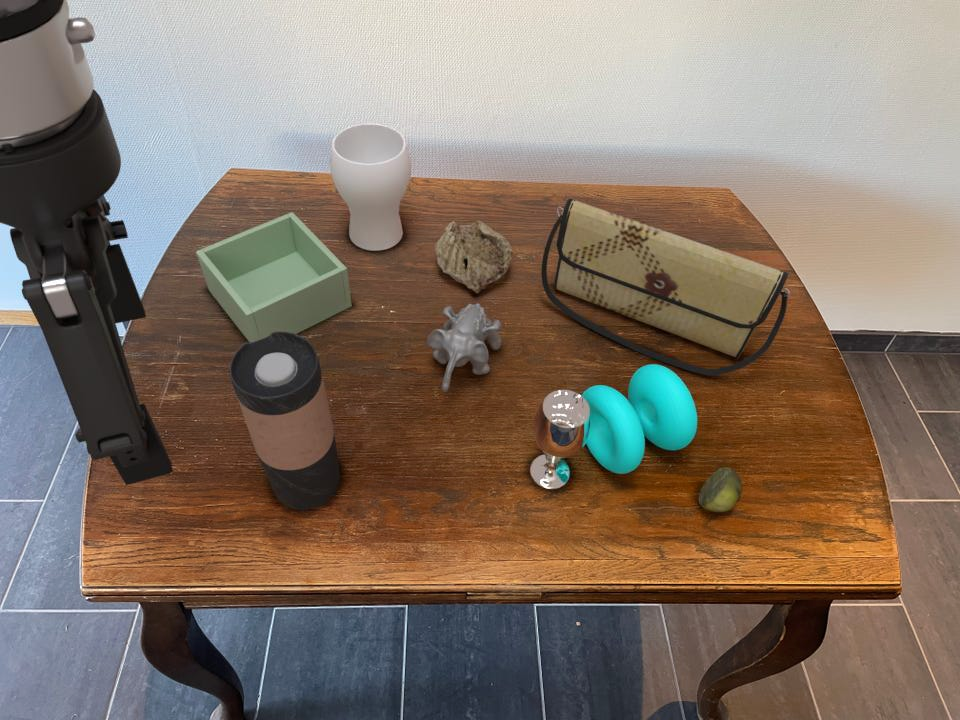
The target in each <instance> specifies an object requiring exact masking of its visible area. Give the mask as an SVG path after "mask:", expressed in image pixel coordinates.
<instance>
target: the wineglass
mask: <svg viewBox="0 0 960 720" xmlns="http://www.w3.org/2000/svg"><path fill="white" fill-rule="evenodd" d="M534 415H535V416H534V418H533V421H532V435H533V439H534V442H535V444H536V446H537V447H538V448H539V449H540V450H541V451H542V452H543V454H541V455H538V456H537V457H536V458H535V459H533V460H532V462H531V464H530V467H529V473H530V477H531V479H532V480H533V482H534V483H535V484H537V485H538V486H539V487H541V488H544V489H547V490H557V489H560V488H562V487H564V486H565V485H566V484H567V483H568V481H569V479H570V476H571V470H570V467H569V464H568V463H567V461H565V459H566V458H570V457H573V456H575V455H577V454H578V453H579V452H580V451H582V450H583V448H584V447H585V445H587V444H586V442H587V440H588V437H589V434H590V426H591V416H590V409H589V405H588V403H587V401H586V400H585V399H584V398H583V397H582V394H580V393H578V392H576V391H573V390H570V389H558V390H554V391H552V392H550V393H549V394H547V395H546V397H545V398H544V399H543V400H542V402H541V404H540V405H539V407H538V409H537V410H536V413H535V414H534Z"/></svg>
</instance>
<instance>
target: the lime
mask: <svg viewBox="0 0 960 720" xmlns="http://www.w3.org/2000/svg"><path fill="white" fill-rule="evenodd" d="M742 493H743V482H742V479H741V478H740V476H739V474H738V473H737V472H736V471H735V470H734V469H733V468H731V467H728V466H727V467H726V466H723V467H720V468H718V469H717V470H716V471H714V472H713V473H712V474H710V475H709V477H708V478H707V479H706V481H705V482H704V484H703V485H702V487H701V488H700V492H699V496H698V503H699V506H700V507H701V508H703V509H704V510H707V511H710V512H714V513H725V512H728V511H730V510H732V509H733V508H734V507H735V506H736V504H737V503H738V502H739V501H740V500H741V497H742V496H741V495H742Z"/></svg>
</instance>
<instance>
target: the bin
mask: <svg viewBox="0 0 960 720" xmlns="http://www.w3.org/2000/svg"><path fill="white" fill-rule="evenodd" d="M195 254H196V257H197V260H198V263H199V266H200V268H201V269H200V270H201V272H202V274H203V277H204V280H205V284H206V286H207V289H208V291H209V292H210V294H211V295H212V296H213V298H214V299H215V300H216V302H217V303H218V305H220V307H221V308H222V309H223V310H224V312H225V313H226V314H227V315H228V317H229V318H230V320H231V321H232V322H233V324H234V325H235V326H236V327H237V328H238V330H239V331H240V332H241V333H242V335H243V336H244V337H245V338H246V340H247V342H255V341H258V340H261V339H263V338H266V337H268V336H269V335H270V334H271V333H273V332H289V333H294V334H297V335H298V334H299V333H301V332H303V331H305V330H307V329H309V328H311V327H313V326H315V325H317V324H319V323H321V322H324V321H325V320H327V319H329V318H332V317H333V316H335V315H337V314H339V313H341V312H343V311H345V310H347V309H350V308H351V307H352V306H353V305H352V296H351V287H350V281H349V274H348V273H349V272H348V267H346V266H345V265H344V264H343V262H341V260H340V259H338V257H337V256H336V255H335V254H334V253H333V252H332V251H331V250H330V249H329V248H328V247H327V246H326V245H325V244H324V243H323V241H321V240H320V239H319V238H318V237H317V236H316V234H314V233H313V232H312V230H310V229H309V227H308V226H307V225H306V224H305V223H303V221H302V220H301V219H300V218H299V217H298V216H297V215H296V214H295V213H294V212H293V211H291V212H289V213H286V214H284V215H280V216H278V217H276V218H273V219H271V220H269V221H266V222H264V223H262V224H259V225H257V226H254V227H252V228H249V229H246V230H244V231H242V232H240V233H237V234H235V235H232V236H230V237H227V238H224V239H223V240H220V241H217V242H215V243H212V244H210V245H207V246H206V247H203V248H201V249H199V250H196V251H195Z"/></svg>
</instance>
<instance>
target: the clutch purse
mask: <svg viewBox="0 0 960 720" xmlns="http://www.w3.org/2000/svg"><path fill="white" fill-rule="evenodd" d="M563 207H564V208H562V207H561V206H557V208H556V213H557V215H558V218H557V220H556V221H555V223H554V224H553V226H552V228H551V230H550V233H549V236H548V238H547V241H546V244H545V247H544V250H543V255H542V261H541V283H542V287H543V290H544V293H545V295H546V296H547V298H548V299H549V300H550V301H551V303H552V304H553V305H554V306H555V307H556V308H558V309H560V310H561V311H562V312H563V313H565V314H566V315H568V316H569V317H570V318H572V319H573V320H575V321H576V322H578V323H579V324H581V325H583V326H585V327H586V328H588V329H590V330H591V331H594V332H596V333H598V334H599V335H601V336H604V337H606V338H608V339H610V340H612V341H613V342H616V343H618V344H620V345H622V346H624V347H626V348H628V349H630V350H633V351H634V352H637V353H639V354H641V355H643V356H646V357H649V358H651V359H654V360H657V361H658V362H662V363H665V364H668V365H670V366H674V367H675V368H679V369H682V370H684V371H685V370H686V371H688V372H691V373H696V374H700V375H704V376H711V377H712V376H720V375H721V376H722V375H725V374H728V373H731V372H735V371H736V370H739V369H742V368H744V367H746V366H749V365H750V364H752V363H754V362H755V361H756V360H758V359H759V358H760V357H761V356H763V355H764V354H765V353H766V352H767V351H768V350H769V348H770V347H771V346H772V344H773V342H774V340H775V338H776V336H777V334H778V332H779V330H780V328H781V325H782V323H783V321H784V318H785V315H786V311H787V307H788V299H789V296H790V295H791V292H790V290H789V288H787V287H784V286H785V284H786V282H787V279H788V277H789V273H788V272H786V271H783V270H780V269H777V268H774V267H771V266H768V265H765V264H762V263H759V262H757V261H754V260H750V259H747V258H745V257H743V256H740V255H736V254H733V253H731V252H728V251H724V250H722V249H718V248H716V247H713V246H709V245H707V244H704V243H701V242H698V241H695V240H692V239H689V238H686V237H684V236H680V235H678V234H675V233H672V232H669V231H666V230H663V229H660V228H658V227H654V226H652V225H648V224H646V223H642V222H640V221H637V220H634V219H631V218H628V217H625V216H622V215H619V214H617V213H614V212H610V211H608V210H606V209H605V210H604V209H601V208H599V207H597V206H593V205H590V204H588V203H584V202H582V201H580V200H576V199H574V198H568V199H567V200H566V202H565V205H564V206H563ZM559 209H561V211H562V212H561V214H560V212H559ZM557 230H558V235H557V239H556V248H557V253H558V258H557V259H558V260H557V265H556V270H555V276H554V283H553V289H554V291H560V292H563V293H565V294H568V295H570V296H573V297H575V298H578V299H581V300H584V301H586V302H588V303H592V304H594V305H597V306H600V307H602V308H605V309H607V310H610V311H612V312H614V313H618V314H620V315H623V316H626V317H629V318H630V319H634V320H636V321H639V322H641V323H643V324H647V325H649V326H651V327H653V328H657V329H660V330H663V331H665V332H668V333H670V334H673V335H675V336H678V337H681V338H683V339H686V340H689V341H691V342H694V343H697V344H699V345H702V346H704V347H706V348H709V349H713V350H715V351H717V352H720V353H723V354H726V355H728V356H730V357H733V358H734V359H735V360H738V359H739V358H740V356H741V355H742V353H743V352H744V350H745V348H746V346H747V344H748V343H749V341H750V339H751V337H752V335H753V333H754V331H755V330H756V327H758V326H760V325H761V324H763V323H764V322H765V321H766V319H767V318H768V316H769V314H770V312H771V311H772V310H773V307H774V305H775V303H776V302H777V300H778V298H779V296H780V295H781V304H780V310H779V312H778V315H777V318H776V321H775V323H774V325H773V327H772V328H771V331H770V333H769V335H768V337H767V339H766V341H764V344H763V345H762V346H761V347H760V348H759V349H758V350H757V351H755V352H754V353H753V354H751V355H750V356H748V357H747V358H745V359H743V360H740V361H739V362H737V363H734V364H731V365H728V366H725V367H720V368H719V367H718V368H705V367H701V366H697V365H693V364H690V363H687V362H684V361H681V360H678V359H676V358H672V357H670V356H666V355H663V354H661V353H658V352H655V351H653V350H650V349H648V348H646V347H643V346H641V345H638V344H637V343H634V342H632V341H629V340H628V339H626V338H624V337H622V336H619V334H615V333H614V332H612V331H609V330H608V329H605V328H603V327H602V326H600V325H597V324H596V323H594V322H592V321H590V320H589V319H586V318H585V317H584V316H582V315H580V314H579V313H577V312H576V311H574V310H573V309H571V308H570V307H568V306H567V305H566V304H564V302H562V301H561V300H559V299H558V297H556V295H555V294H554V293H553V291H552V289H551V287H550V284H549V281H548V272H547V271H548V260H549V253H550V250H551V246H552V244H553V240H554V238H555V235H556V233H557ZM786 291H787V292H788V293H787V292H786Z"/></svg>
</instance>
